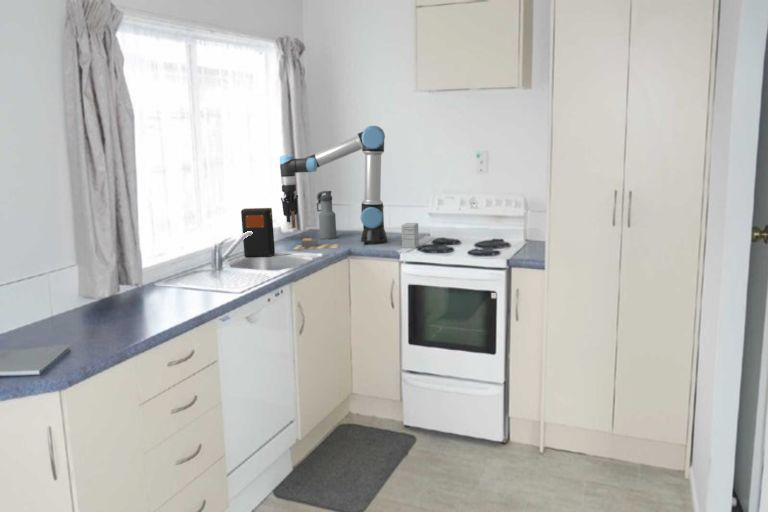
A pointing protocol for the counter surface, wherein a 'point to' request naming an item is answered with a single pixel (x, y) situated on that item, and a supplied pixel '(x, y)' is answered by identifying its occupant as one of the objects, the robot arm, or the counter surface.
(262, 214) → the voltmeter
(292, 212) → the peg
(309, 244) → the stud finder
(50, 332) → the counter surface
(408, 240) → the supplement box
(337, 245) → the plywood panel
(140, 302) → the counter surface
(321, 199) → the water bottle
